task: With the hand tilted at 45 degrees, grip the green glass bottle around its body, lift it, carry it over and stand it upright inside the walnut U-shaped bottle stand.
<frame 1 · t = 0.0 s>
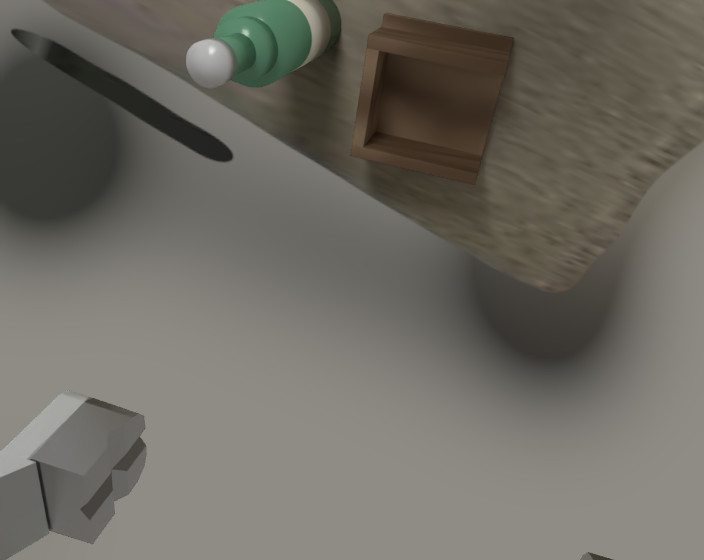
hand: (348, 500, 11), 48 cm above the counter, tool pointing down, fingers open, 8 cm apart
bottle stand: (433, 96, 54), on the counter
green bottle: (311, 23, 54), on the counter
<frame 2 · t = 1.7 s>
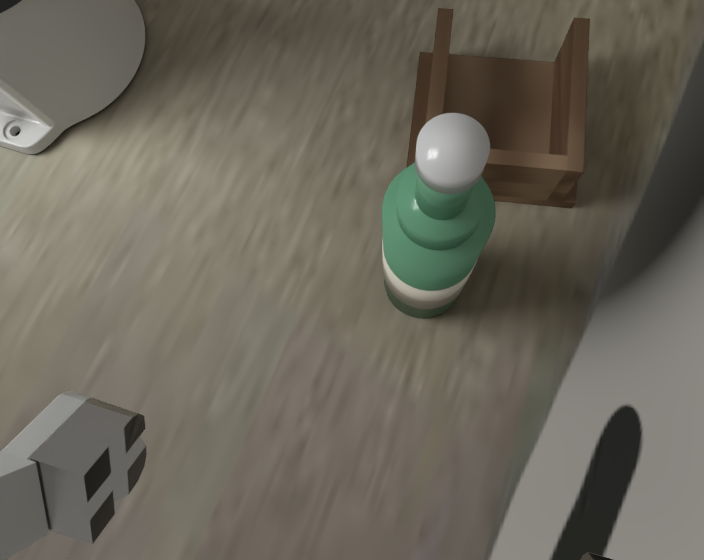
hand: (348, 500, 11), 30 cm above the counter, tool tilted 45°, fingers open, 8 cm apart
bottle stand: (492, 131, 45), on the counter
green bottle: (422, 280, 42), on the counter
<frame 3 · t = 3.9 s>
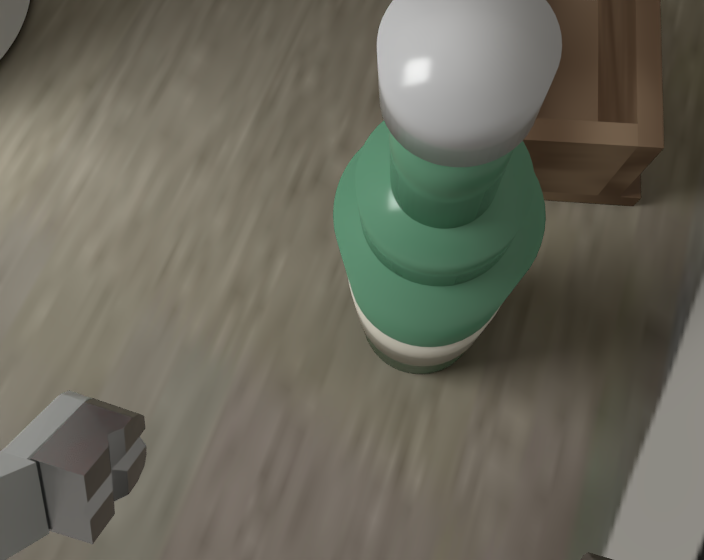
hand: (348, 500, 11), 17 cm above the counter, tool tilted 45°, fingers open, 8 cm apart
bottle stand: (513, 99, 31), on the counter
green bottle: (418, 317, 29), on the counter
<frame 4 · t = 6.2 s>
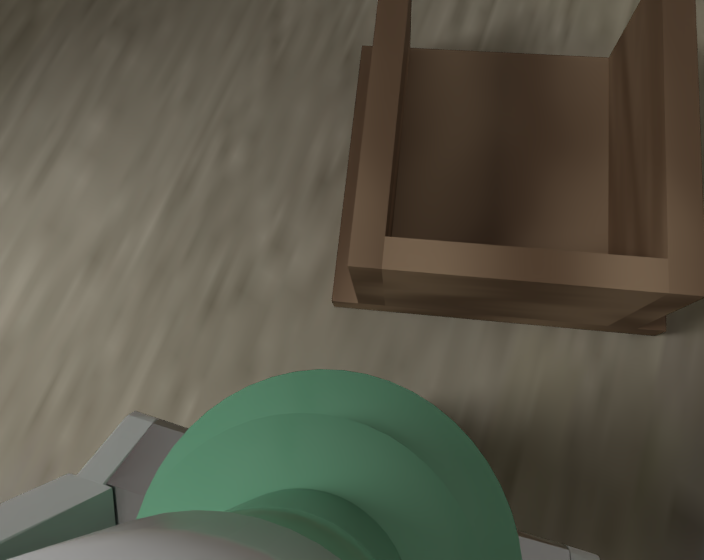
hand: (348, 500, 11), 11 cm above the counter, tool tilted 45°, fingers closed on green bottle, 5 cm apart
bottle stand: (497, 186, 24), on the counter
green bottle: (368, 487, 22), on the counter, touching gripper
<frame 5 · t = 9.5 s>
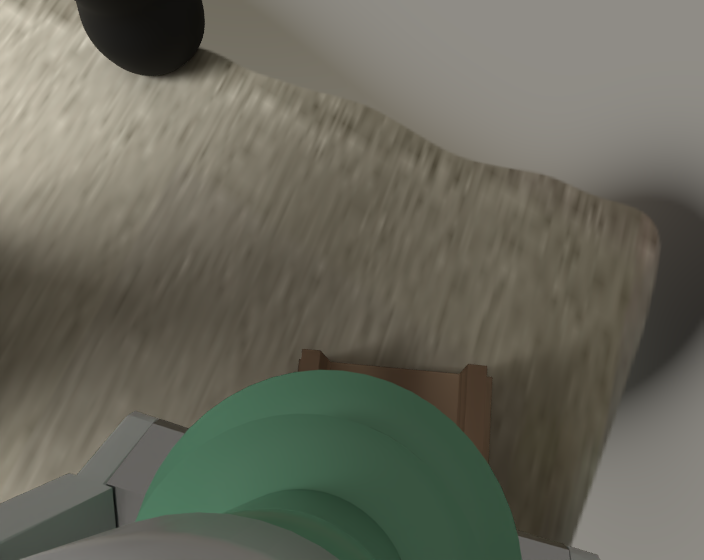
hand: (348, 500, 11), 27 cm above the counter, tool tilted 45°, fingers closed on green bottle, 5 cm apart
bottle stand: (386, 459, 37), on the counter
green bottle: (368, 486, 22), point 16 cm above the counter, touching gripper
cola bottle: (160, 40, 46), on the counter
when the fingers open (13 cm above the counter, at t = 12.7 s): green bottle stays where it is, resting on bottle stand.
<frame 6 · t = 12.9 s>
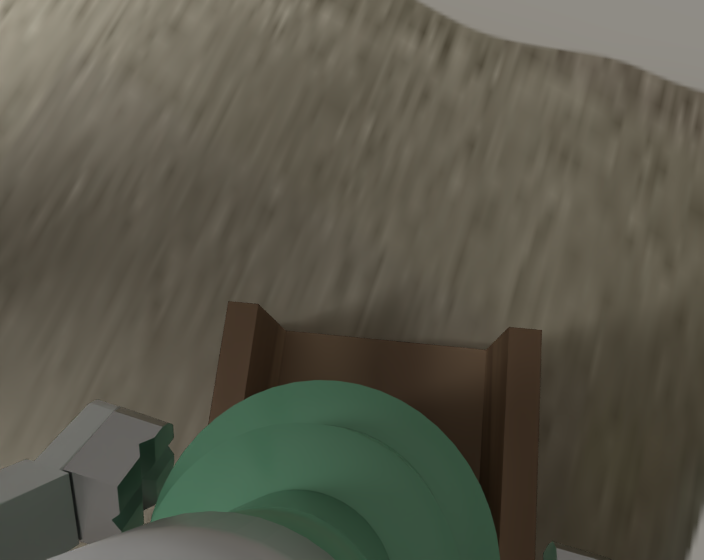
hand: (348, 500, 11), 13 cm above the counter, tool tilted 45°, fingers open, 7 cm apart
bottle stand: (371, 482, 24), on the counter
green bottle: (368, 484, 23), point 1 cm above the counter, touching bottle stand
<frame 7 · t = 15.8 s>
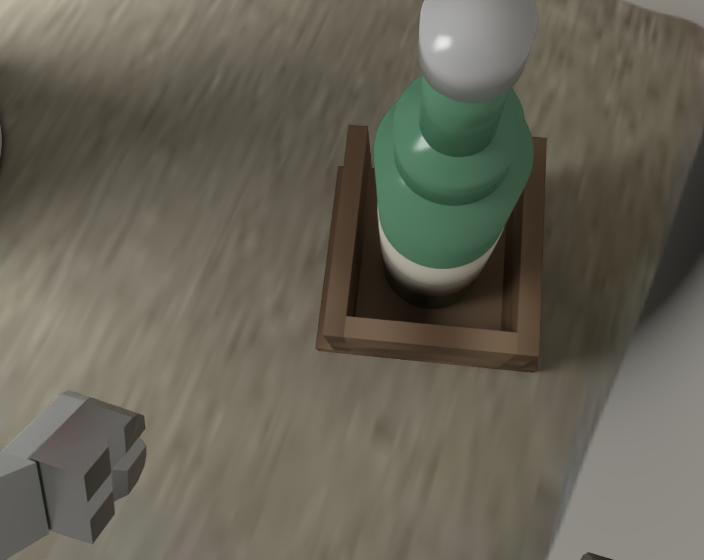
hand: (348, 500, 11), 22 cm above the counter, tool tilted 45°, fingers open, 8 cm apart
bottle stand: (431, 267, 35), on the counter
green bottle: (431, 262, 34), point 1 cm above the counter, touching bottle stand
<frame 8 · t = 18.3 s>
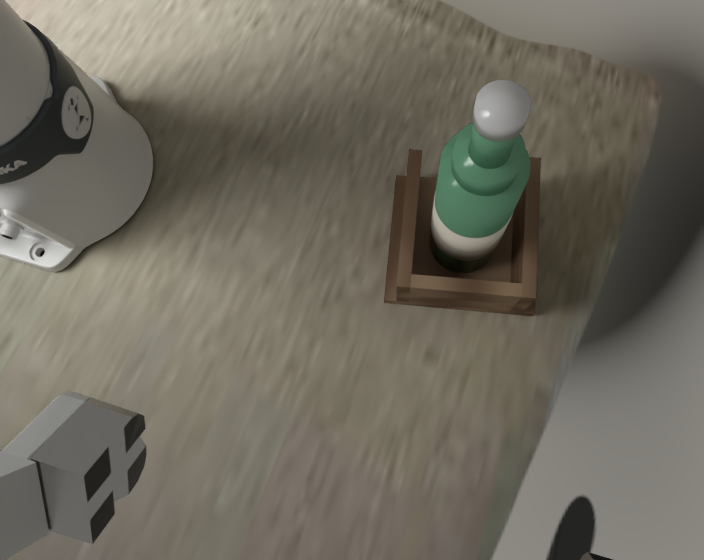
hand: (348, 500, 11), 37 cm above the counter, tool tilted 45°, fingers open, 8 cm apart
bottle stand: (461, 245, 51), on the counter
green bottle: (462, 241, 50), point 1 cm above the counter, touching bottle stand
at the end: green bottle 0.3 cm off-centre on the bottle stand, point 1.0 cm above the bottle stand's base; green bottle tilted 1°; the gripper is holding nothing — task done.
